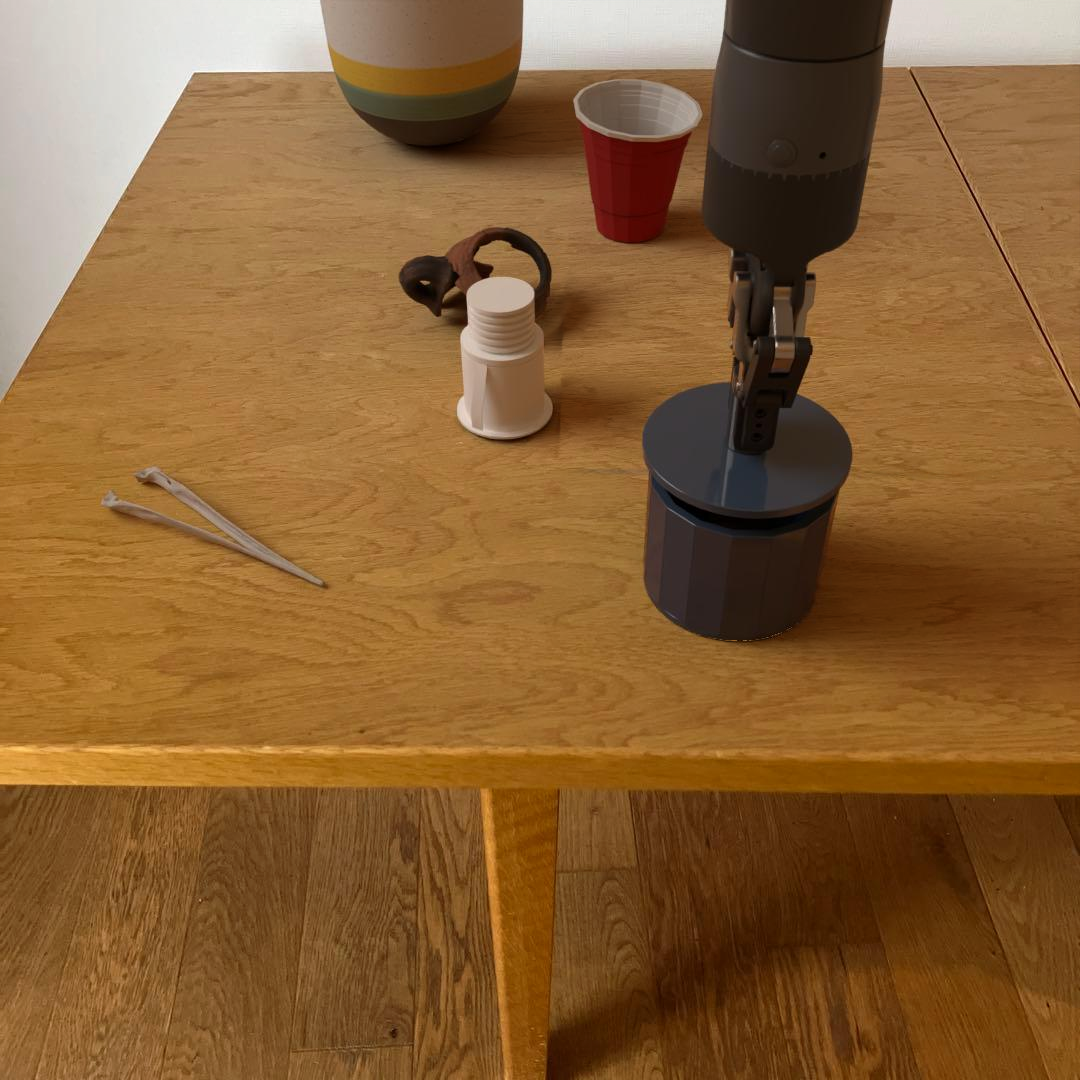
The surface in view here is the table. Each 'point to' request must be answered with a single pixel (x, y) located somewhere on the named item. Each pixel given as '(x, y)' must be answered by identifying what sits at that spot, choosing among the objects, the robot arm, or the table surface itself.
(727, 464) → the lid
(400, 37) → the planter
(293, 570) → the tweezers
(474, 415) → the downlight
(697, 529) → the tin
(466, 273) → the brown curved piece
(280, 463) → the table surface
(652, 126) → the plastic cup
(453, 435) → the table surface
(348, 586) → the table surface
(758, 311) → the robot arm
